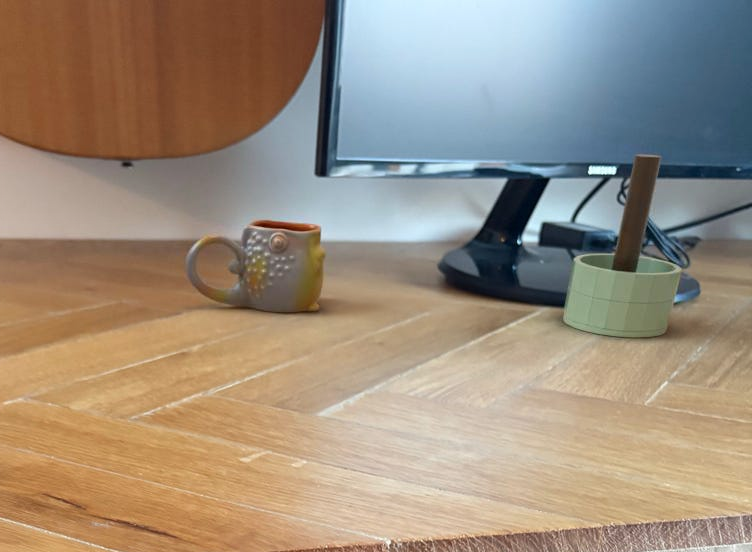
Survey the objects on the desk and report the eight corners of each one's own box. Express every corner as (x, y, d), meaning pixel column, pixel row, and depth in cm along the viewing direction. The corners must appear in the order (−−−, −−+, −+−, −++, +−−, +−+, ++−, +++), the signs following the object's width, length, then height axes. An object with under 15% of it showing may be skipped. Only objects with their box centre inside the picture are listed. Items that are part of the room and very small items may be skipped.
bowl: (633, 311, 90) (646, 253, 87) (687, 337, 83) (703, 274, 80) (545, 312, 88) (556, 253, 85) (592, 338, 81) (606, 274, 78)
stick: (621, 313, 87) (655, 153, 80) (640, 322, 84) (677, 158, 77) (587, 314, 86) (619, 153, 79) (605, 323, 83) (640, 157, 77)
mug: (308, 295, 90) (313, 216, 87) (331, 313, 84) (337, 230, 81) (177, 298, 87) (177, 216, 84) (192, 317, 82) (192, 230, 78)
